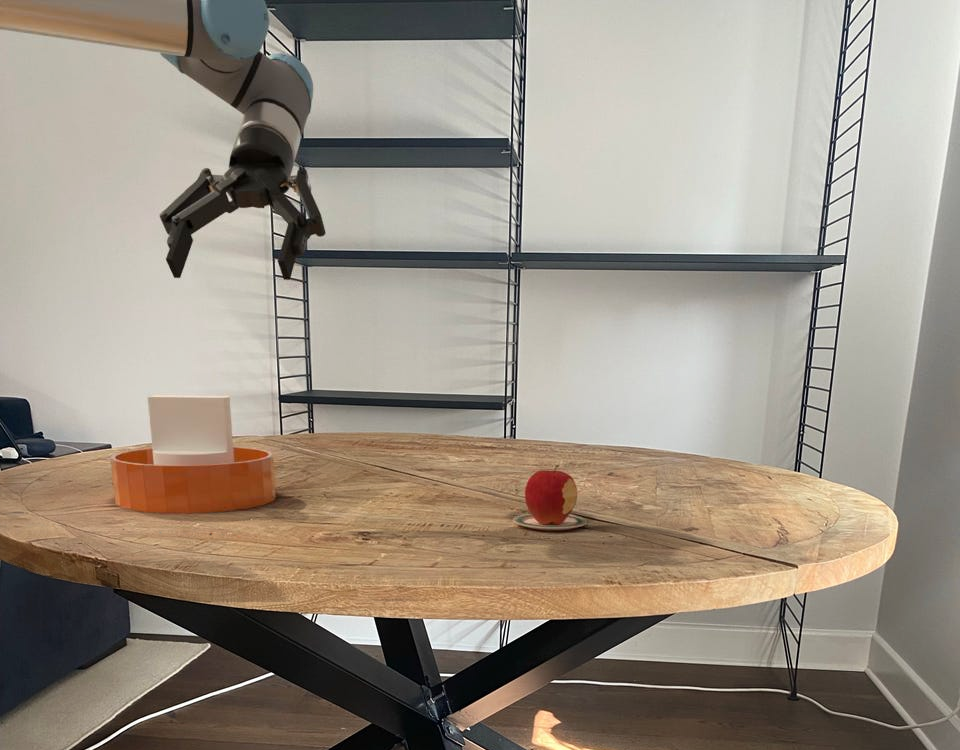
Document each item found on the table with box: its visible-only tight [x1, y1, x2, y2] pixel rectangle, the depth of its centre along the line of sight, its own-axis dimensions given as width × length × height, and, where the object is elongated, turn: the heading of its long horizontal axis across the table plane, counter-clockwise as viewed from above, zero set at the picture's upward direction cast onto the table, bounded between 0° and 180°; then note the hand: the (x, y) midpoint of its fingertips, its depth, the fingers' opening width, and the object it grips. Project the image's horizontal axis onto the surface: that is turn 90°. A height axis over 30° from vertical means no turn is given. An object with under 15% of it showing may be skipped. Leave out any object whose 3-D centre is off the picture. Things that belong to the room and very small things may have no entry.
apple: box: [513, 464, 587, 532], centre depth 99 cm, size 8×8×6 cm
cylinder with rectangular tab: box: [147, 394, 234, 465], centre depth 106 cm, size 9×9×12 cm
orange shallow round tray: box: [110, 446, 277, 514], centre depth 107 cm, size 18×18×6 cm
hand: (227, 269), depth 107 cm, fingers open, 13 cm apart
